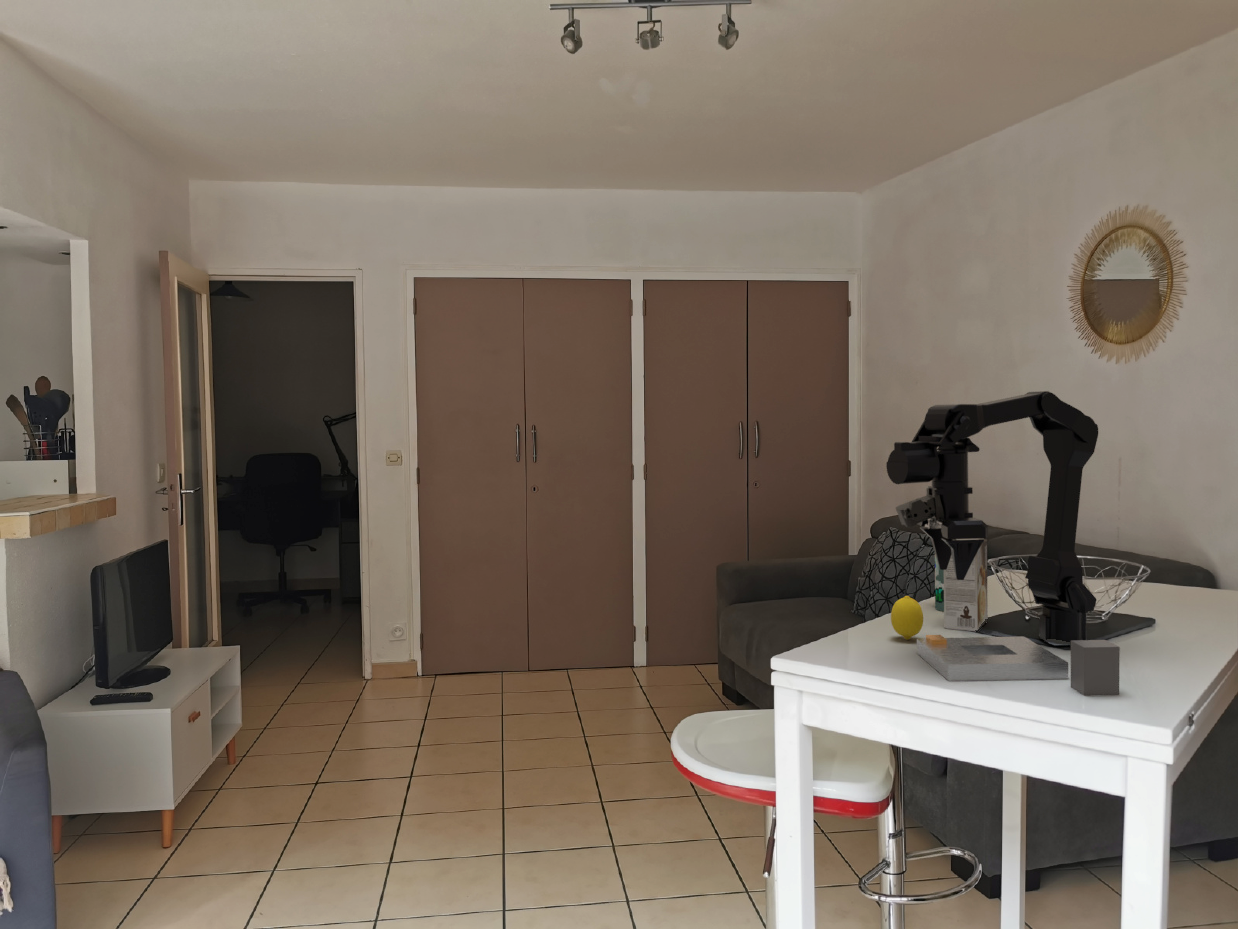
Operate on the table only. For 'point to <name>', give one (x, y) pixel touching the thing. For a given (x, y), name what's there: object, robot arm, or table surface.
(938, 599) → the can
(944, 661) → the socket plate
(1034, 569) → the robot arm
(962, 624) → the coffee box
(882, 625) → the table surface
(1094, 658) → the plug
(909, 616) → the lemon
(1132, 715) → the table surface
